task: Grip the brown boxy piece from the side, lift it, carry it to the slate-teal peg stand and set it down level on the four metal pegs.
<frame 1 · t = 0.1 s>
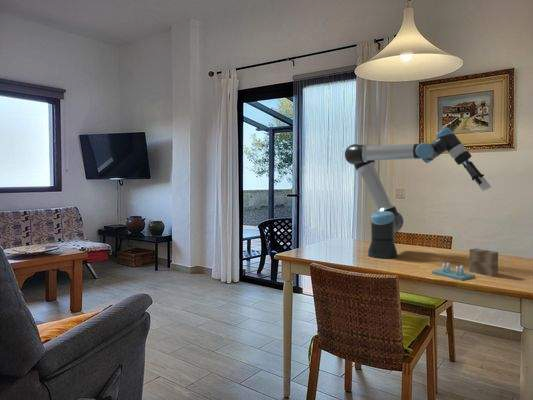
hand: (487, 188, 196), 36 cm above the table, fingers open, 13 cm apart
peg stand: (452, 275, 171), on the table
brown boxy piece: (483, 273, 173), on the table
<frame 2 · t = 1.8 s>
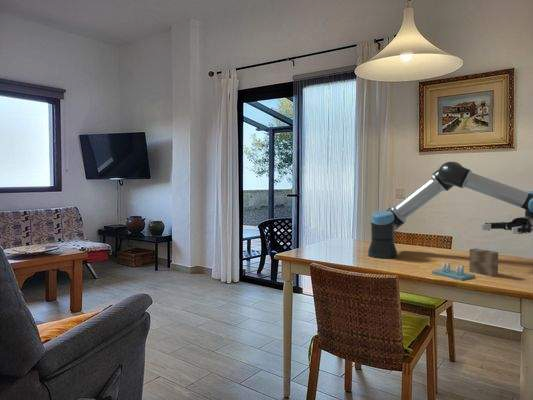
hand: (496, 229, 177), 19 cm above the table, fingers open, 13 cm apart
nothing on the table moved.
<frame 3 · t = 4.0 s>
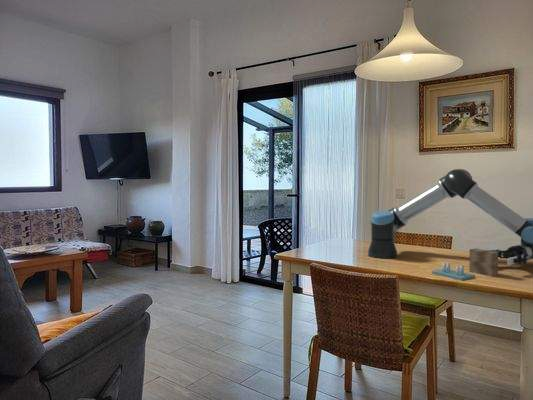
hand: (492, 258, 175), 6 cm above the table, fingers open, 13 cm apart
nothing on the table moved.
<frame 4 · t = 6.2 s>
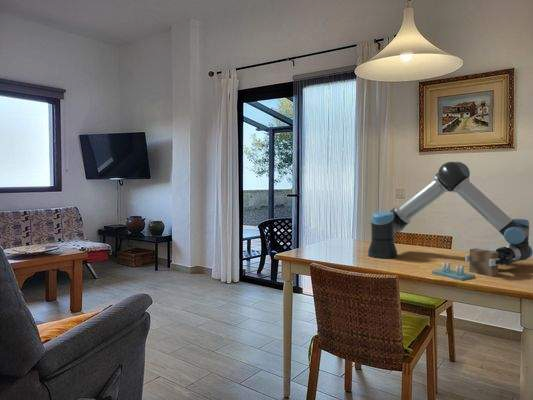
hand: (477, 260, 171), 6 cm above the table, fingers closed on brown boxy piece, 10 cm apart
brown boxy piece: (483, 273, 173), on the table, touching gripper
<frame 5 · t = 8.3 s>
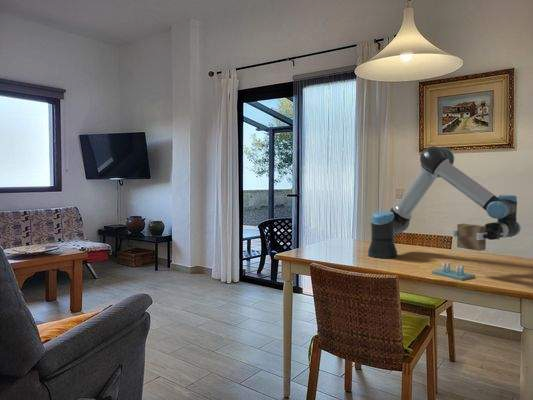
hand: (465, 235, 168), 17 cm above the table, fingers closed on brown boxy piece, 10 cm apart
brown boxy piece: (470, 248, 171), point 11 cm above the table, touching gripper
when the fingers open (11 cm above the table, at t = 10.8 s): brown boxy piece stays where it is, resting on peg stand.
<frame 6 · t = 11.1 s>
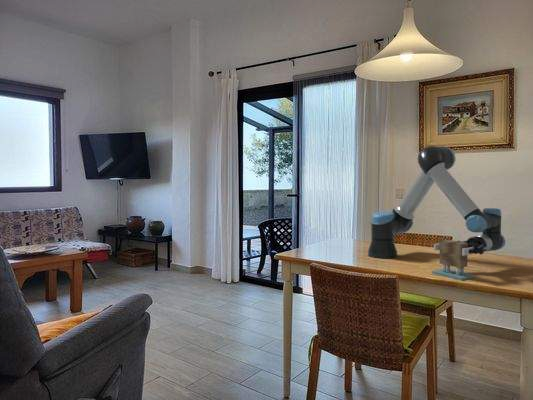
hand: (448, 249, 169), 11 cm above the table, fingers open, 13 cm apart
brown boxy piece: (453, 264, 171), point 4 cm above the table, touching peg stand
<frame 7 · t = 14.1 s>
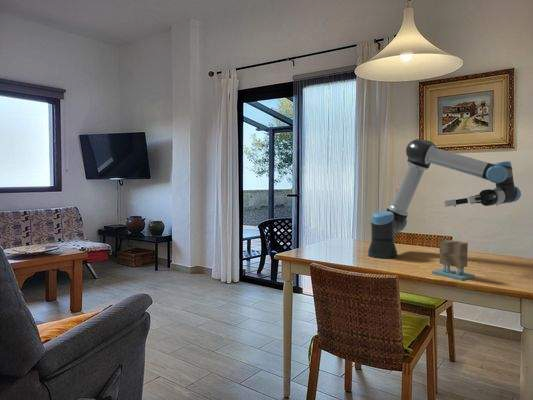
hand: (456, 202, 177), 31 cm above the table, fingers open, 13 cm apart
nothing on the table moved.
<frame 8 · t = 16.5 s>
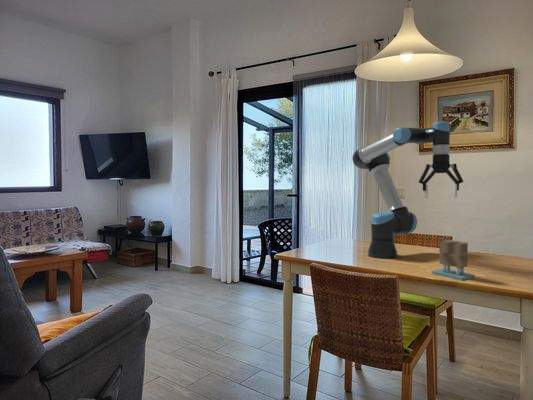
hand: (440, 197, 195), 32 cm above the table, fingers open, 13 cm apart
nothing on the table moved.
at the end: brown boxy piece 0.0 cm off-centre on the peg stand, point 4.5 cm above the peg stand's base; brown boxy piece tilted 0°; the gripper is holding nothing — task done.
